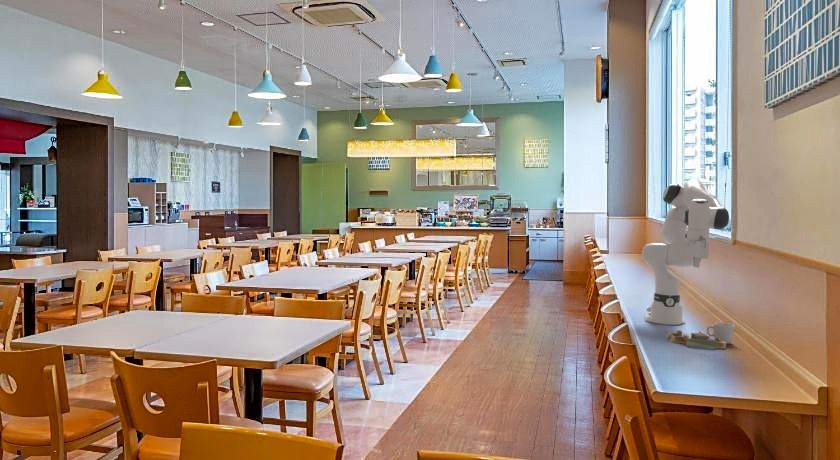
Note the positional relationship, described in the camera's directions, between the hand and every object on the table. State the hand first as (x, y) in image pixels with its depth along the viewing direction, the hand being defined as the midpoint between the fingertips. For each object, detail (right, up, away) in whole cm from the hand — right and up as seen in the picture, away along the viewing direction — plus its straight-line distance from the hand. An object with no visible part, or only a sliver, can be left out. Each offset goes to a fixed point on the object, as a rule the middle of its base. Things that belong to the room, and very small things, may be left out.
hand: (696, 267), depth 283 cm
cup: (+7, -32, -7) cm, 34 cm away
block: (-6, -32, -16) cm, 36 cm away
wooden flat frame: (-5, -32, -11) cm, 34 cm away
